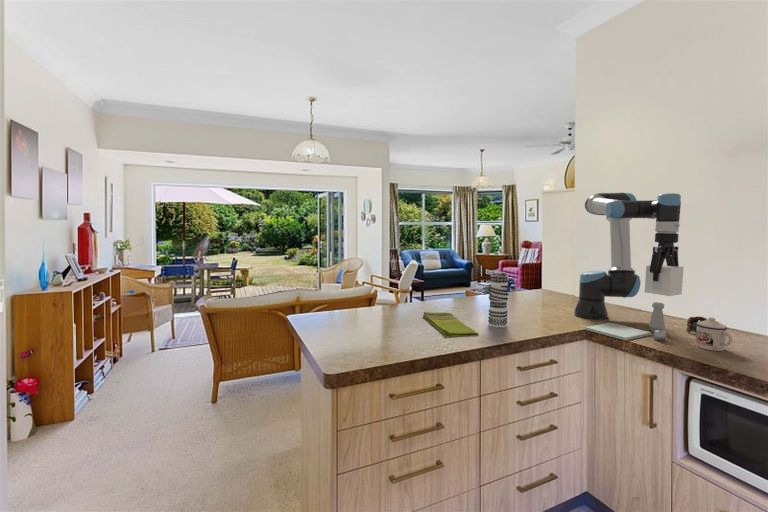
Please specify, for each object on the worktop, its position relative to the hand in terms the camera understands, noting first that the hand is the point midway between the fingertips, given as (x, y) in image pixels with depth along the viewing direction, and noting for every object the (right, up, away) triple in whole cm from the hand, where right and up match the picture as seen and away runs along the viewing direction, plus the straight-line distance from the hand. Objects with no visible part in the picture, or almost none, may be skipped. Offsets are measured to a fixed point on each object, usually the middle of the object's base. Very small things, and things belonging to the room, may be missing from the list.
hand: (663, 288), depth 154 cm
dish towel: (-83, -20, +24) cm, 88 cm away
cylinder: (0, -21, +2) cm, 21 cm away
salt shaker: (+8, -21, +15) cm, 27 cm away
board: (-10, -20, +13) cm, 26 cm away
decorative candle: (-60, -19, +24) cm, 67 cm away
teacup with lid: (+13, -22, -9) cm, 27 cm away
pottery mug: (+26, -21, +14) cm, 36 cm away
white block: (0, -2, 0) cm, 2 cm away
